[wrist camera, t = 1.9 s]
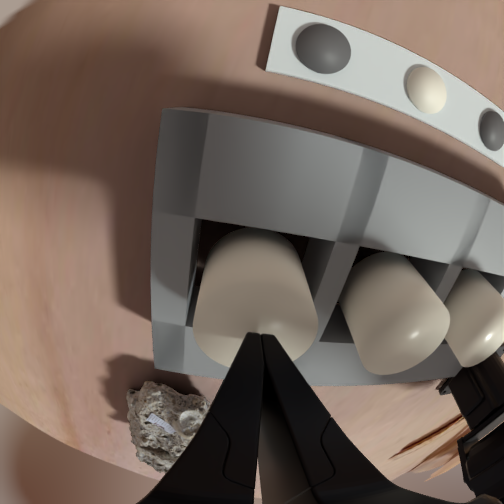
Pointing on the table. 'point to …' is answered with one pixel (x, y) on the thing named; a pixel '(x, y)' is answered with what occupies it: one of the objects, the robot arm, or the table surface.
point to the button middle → (392, 313)
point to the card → (384, 77)
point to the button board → (307, 229)
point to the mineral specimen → (163, 423)
